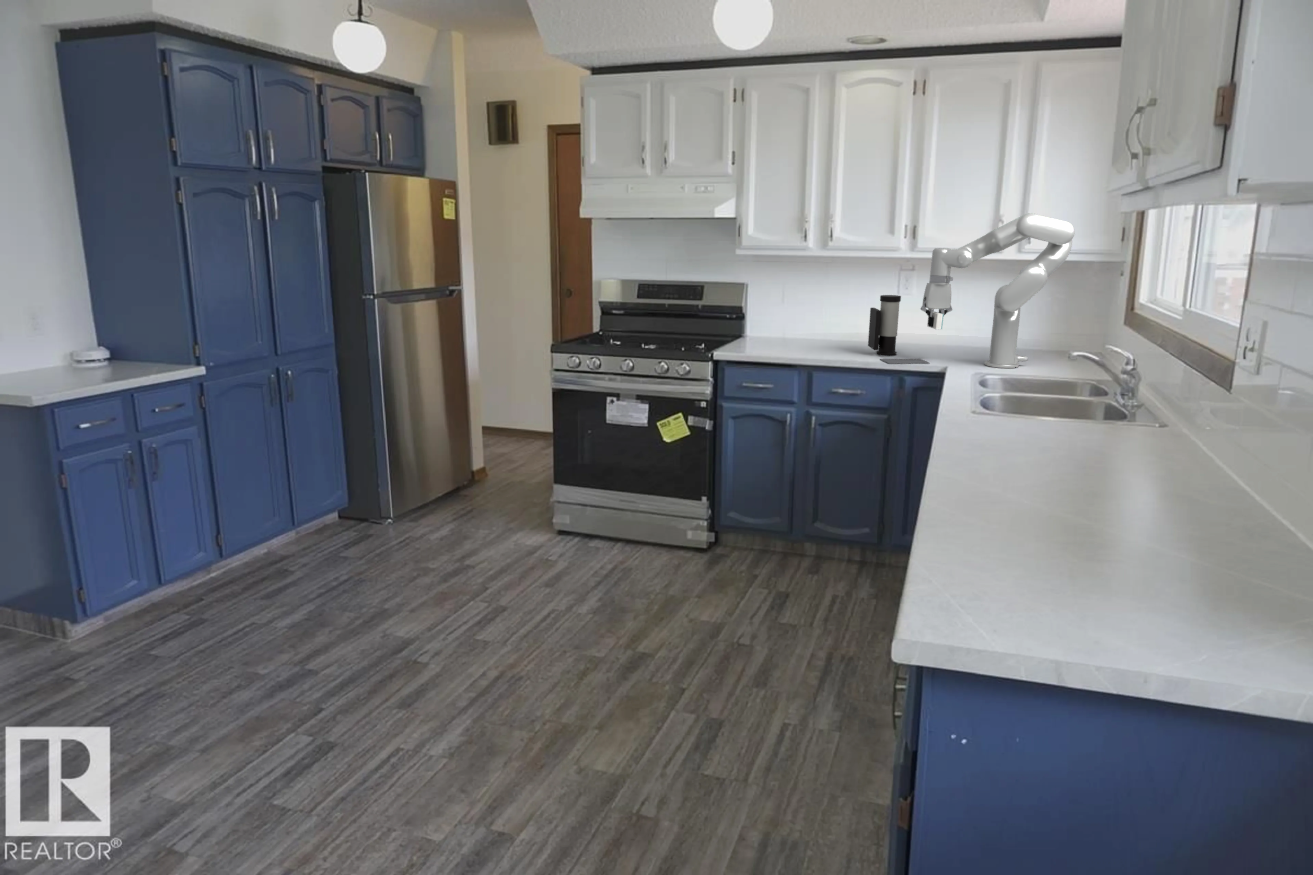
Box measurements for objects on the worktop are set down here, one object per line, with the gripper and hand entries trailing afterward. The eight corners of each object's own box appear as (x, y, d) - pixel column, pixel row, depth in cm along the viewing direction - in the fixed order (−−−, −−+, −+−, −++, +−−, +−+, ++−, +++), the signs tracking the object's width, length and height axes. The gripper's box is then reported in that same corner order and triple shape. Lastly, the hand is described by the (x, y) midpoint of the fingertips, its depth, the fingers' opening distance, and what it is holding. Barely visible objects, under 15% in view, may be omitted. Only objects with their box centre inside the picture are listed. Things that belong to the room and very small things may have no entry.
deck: (933, 326, 353) (934, 311, 351) (942, 329, 344) (943, 314, 343) (927, 326, 353) (928, 311, 351) (935, 329, 344) (937, 314, 343)
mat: (919, 359, 358) (920, 358, 358) (929, 363, 349) (929, 362, 349) (879, 359, 357) (879, 359, 357) (888, 364, 347) (888, 363, 347)
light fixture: (899, 356, 365) (904, 297, 359) (873, 356, 365) (877, 297, 359) (892, 352, 377) (897, 294, 370) (867, 352, 377) (871, 294, 371)
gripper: (955, 279, 348) (950, 325, 353) (916, 279, 347) (911, 325, 351) (963, 281, 341) (957, 328, 346) (923, 280, 339) (918, 327, 344)
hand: (934, 326), depth 348 cm, fingers closed on deck, 2 cm apart
